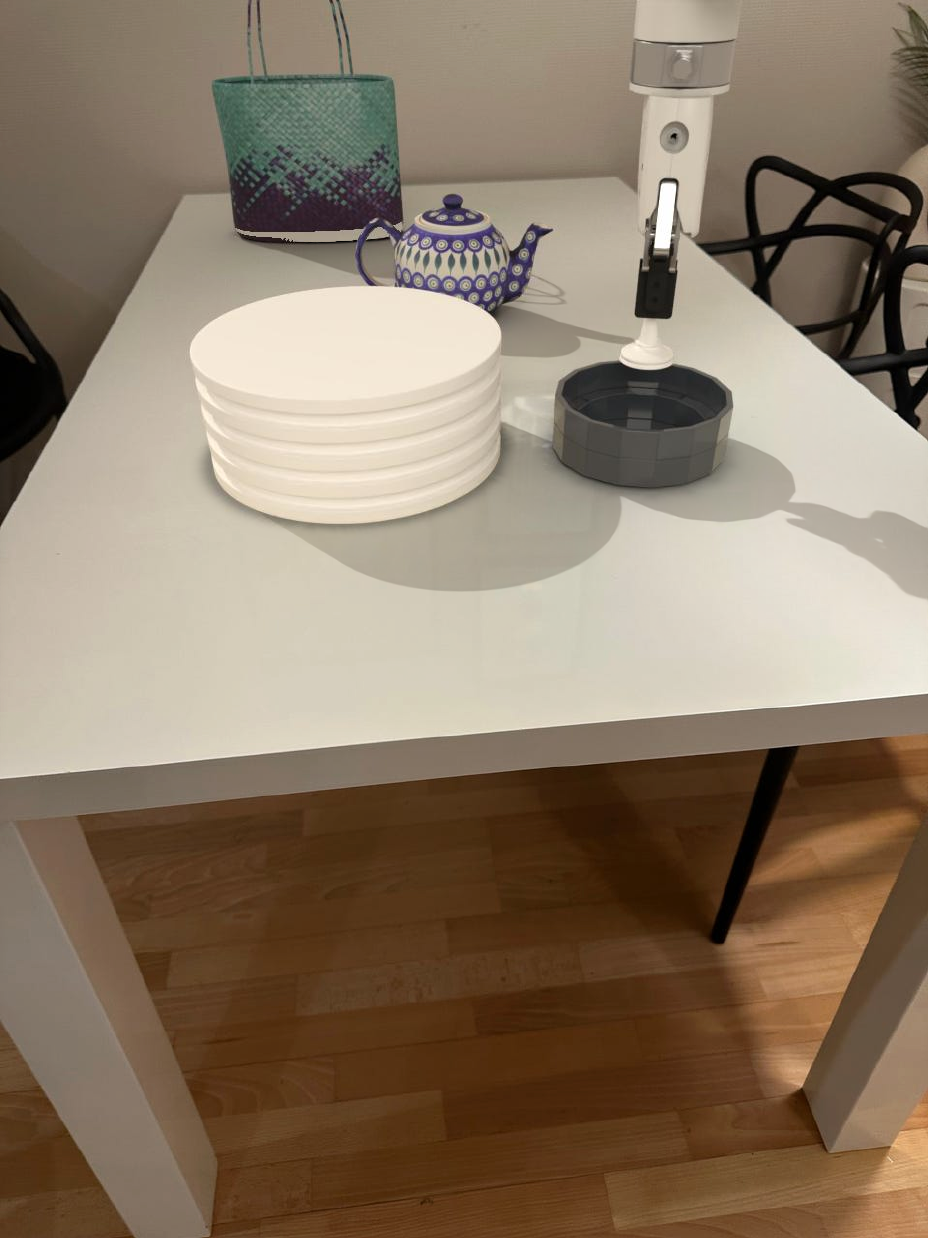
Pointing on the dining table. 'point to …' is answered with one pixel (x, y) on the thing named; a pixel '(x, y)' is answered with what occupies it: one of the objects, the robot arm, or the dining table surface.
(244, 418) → the plate stack
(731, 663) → the dining table surface
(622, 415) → the grey faceted round tub
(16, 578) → the dining table surface
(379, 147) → the basket
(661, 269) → the robot arm
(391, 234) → the teapot
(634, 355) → the chess piece
